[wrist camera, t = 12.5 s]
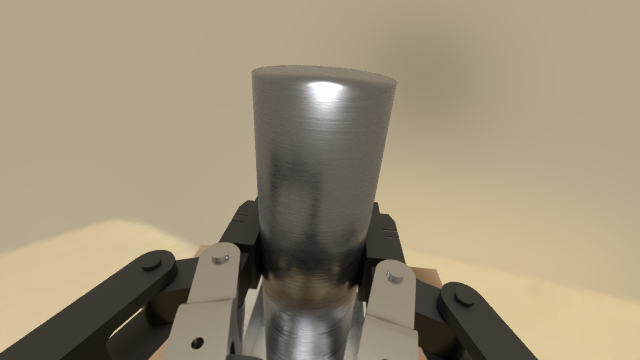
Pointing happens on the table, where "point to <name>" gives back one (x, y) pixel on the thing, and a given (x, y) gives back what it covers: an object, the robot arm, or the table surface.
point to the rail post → (315, 199)
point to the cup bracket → (256, 328)
